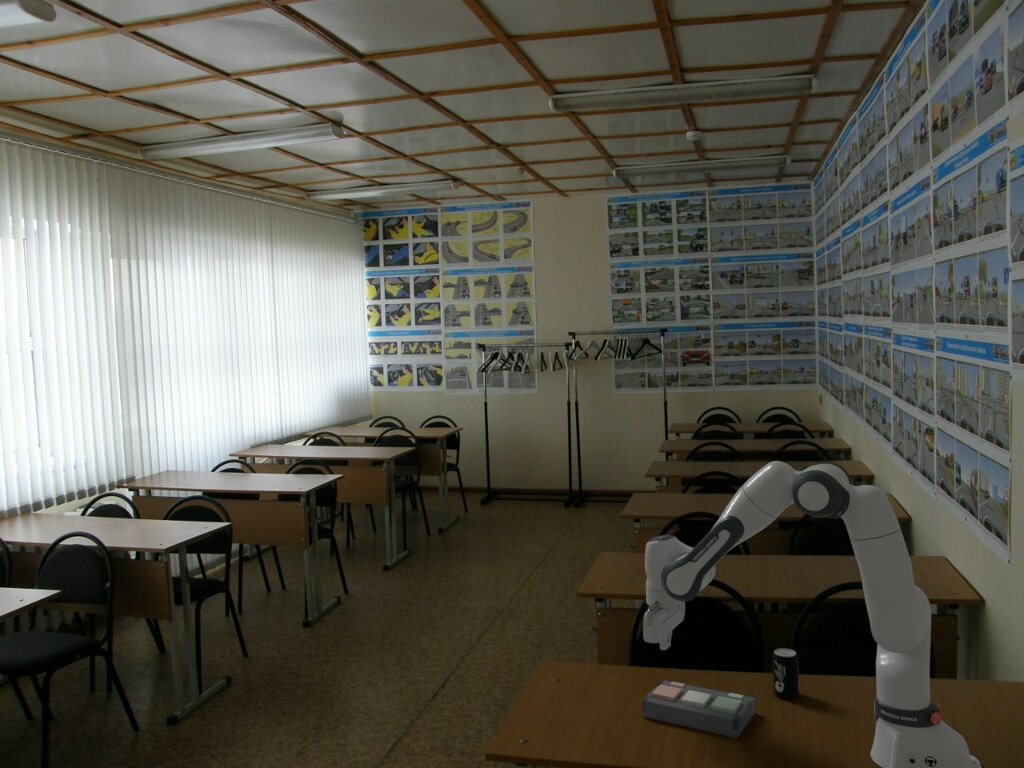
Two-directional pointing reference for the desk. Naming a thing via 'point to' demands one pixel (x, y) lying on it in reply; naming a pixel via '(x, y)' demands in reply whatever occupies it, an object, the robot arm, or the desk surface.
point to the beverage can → (785, 673)
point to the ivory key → (696, 699)
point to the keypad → (699, 711)
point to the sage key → (726, 705)
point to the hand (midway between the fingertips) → (665, 648)
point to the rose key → (667, 693)
